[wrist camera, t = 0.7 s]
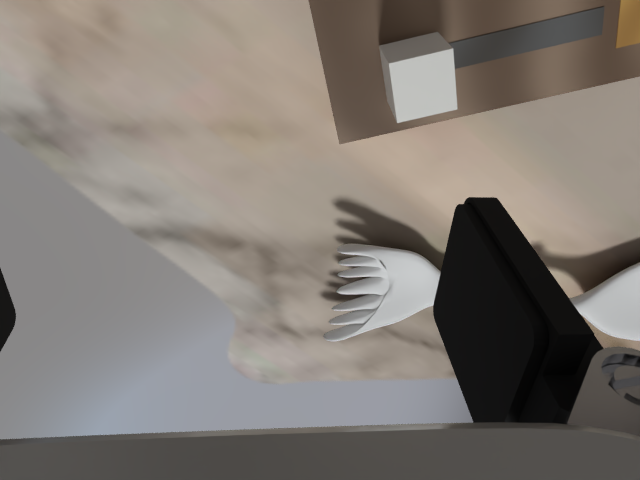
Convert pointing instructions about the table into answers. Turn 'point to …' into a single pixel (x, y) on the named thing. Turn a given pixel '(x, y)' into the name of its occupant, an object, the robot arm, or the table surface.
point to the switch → (419, 76)
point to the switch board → (473, 52)
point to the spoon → (421, 285)
